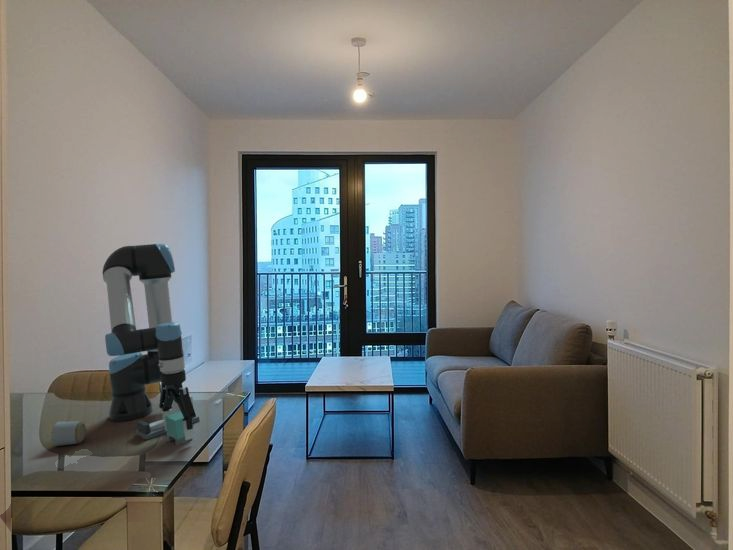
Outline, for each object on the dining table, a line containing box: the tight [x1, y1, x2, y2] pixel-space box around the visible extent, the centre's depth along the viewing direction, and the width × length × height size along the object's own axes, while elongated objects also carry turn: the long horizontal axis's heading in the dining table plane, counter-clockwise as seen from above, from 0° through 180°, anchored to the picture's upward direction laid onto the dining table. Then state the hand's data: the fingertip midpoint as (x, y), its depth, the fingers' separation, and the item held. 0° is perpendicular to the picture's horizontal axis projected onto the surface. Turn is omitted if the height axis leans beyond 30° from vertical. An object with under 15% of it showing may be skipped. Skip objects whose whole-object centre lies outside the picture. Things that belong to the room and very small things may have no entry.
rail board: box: [135, 394, 200, 440], centre depth 172 cm, size 19×8×10 cm, turn 138°
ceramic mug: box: [51, 421, 87, 447], centre depth 166 cm, size 11×8×8 cm
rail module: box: [165, 412, 193, 446], centre depth 161 cm, size 5×7×8 cm
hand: (179, 434), depth 161 cm, fingers open, 13 cm apart
